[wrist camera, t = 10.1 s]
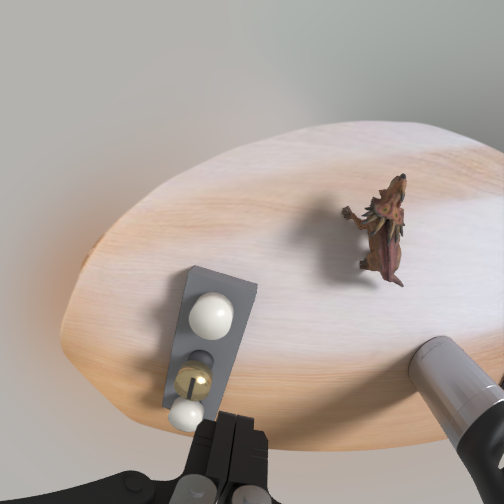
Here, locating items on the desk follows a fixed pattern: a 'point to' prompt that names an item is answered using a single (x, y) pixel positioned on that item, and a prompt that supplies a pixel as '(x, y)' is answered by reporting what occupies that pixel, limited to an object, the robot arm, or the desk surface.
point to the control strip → (206, 351)
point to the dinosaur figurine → (384, 229)
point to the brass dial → (193, 381)
